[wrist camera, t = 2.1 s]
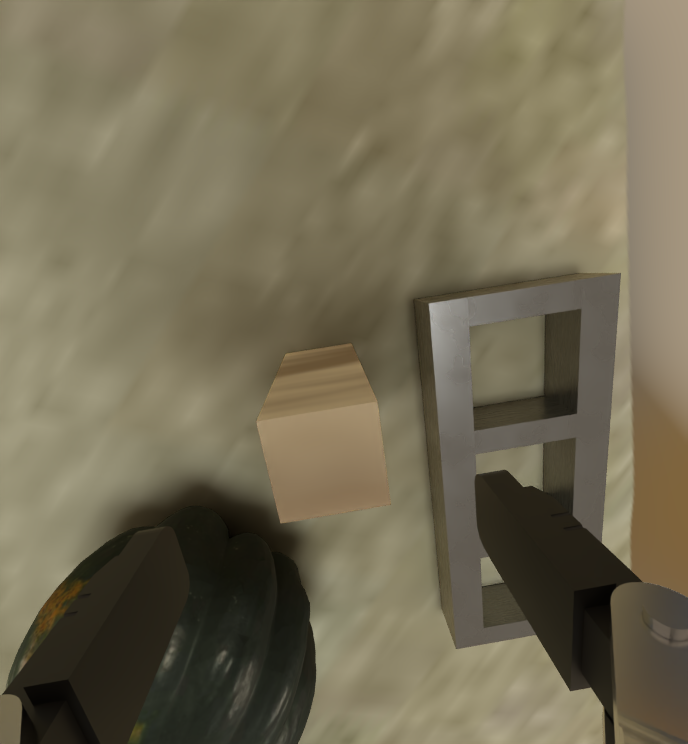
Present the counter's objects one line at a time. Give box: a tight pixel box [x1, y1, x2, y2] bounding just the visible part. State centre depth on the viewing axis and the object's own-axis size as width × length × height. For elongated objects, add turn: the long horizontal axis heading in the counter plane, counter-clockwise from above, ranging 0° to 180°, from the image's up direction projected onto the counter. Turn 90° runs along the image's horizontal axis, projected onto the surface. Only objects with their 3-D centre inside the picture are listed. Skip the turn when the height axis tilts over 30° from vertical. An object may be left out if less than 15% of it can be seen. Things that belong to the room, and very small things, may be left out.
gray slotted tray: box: [414, 273, 621, 649], centre depth 23 cm, size 24×10×3 cm, turn 8°
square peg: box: [256, 343, 391, 523], centre depth 17 cm, size 4×4×10 cm
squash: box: [6, 506, 316, 744], centre depth 19 cm, size 14×15×15 cm
